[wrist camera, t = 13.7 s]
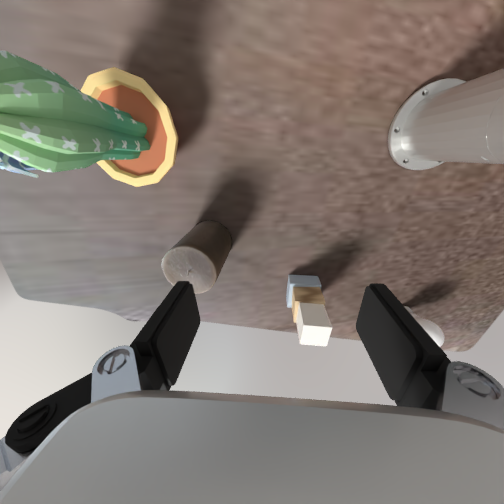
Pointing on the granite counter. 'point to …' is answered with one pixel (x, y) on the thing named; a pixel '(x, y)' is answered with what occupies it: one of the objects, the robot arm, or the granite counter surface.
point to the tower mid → (305, 297)
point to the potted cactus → (83, 123)
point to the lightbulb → (429, 328)
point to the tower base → (300, 284)
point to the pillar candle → (198, 256)
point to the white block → (313, 324)
